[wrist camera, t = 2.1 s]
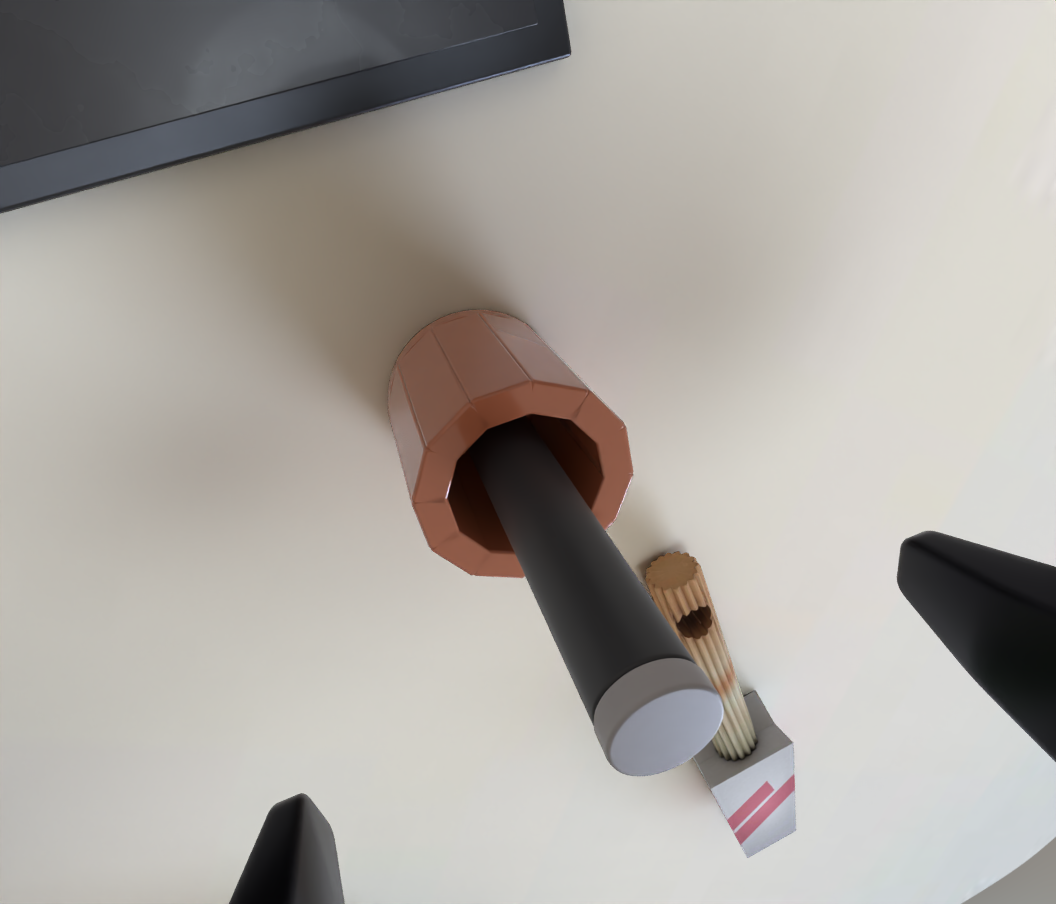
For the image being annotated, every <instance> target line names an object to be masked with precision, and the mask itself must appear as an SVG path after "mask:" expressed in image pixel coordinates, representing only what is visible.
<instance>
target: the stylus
mask: <svg viewBox="0 0 1056 904" xmlns="http://www.w3.org/2000/svg"><path fill="white" fill-rule="evenodd" d="M468 451H469V454H470V456H471V458H472V460H473V462H474V465H475V467H476V469H477V471H478V473H479V476H480V478H481V480H482V482H483V484H484V487H485V489H486V491H487V493H488V495H489V498H490V500H491V502H492V504H493V506H494V508H495V511H496V513H497V515H498V517H499V519H500V522H501V524H502V526H503V528H504V530H505V533H506V535H507V537H508V539H509V541H510V544H511V546H512V548H513V550H514V552H515V555H516V557H517V559H518V561H519V563H520V565H521V568H522V570H523V572H524V574H525V576H526V579H527V581H528V583H529V585H530V587H531V590H532V592H533V594H534V596H535V598H536V601H537V603H538V605H539V607H540V609H541V612H542V614H543V616H544V618H545V620H546V622H547V625H548V627H549V629H550V631H551V633H552V636H553V638H554V640H555V642H556V644H557V647H558V649H559V651H560V653H561V655H562V658H563V660H564V662H565V664H566V666H567V669H568V671H569V673H570V675H571V677H572V679H573V682H574V684H575V686H576V688H577V690H578V693H579V695H580V697H581V699H582V701H583V704H584V706H585V708H586V710H587V712H588V715H589V717H590V719H591V721H592V723H593V726H594V731H595V733H596V736H597V738H598V740H599V742H600V745H601V747H602V749H603V751H604V753H605V756H606V758H607V760H608V762H609V763H610V765H612V766H613V767H614V768H615V769H616V770H617V771H619V772H621V773H623V774H626V775H630V776H648V775H654V774H658V773H661V772H664V771H667V770H670V769H672V768H674V767H676V766H678V765H680V764H682V763H684V762H686V761H687V760H689V759H690V758H692V757H693V756H694V755H696V754H697V753H698V752H699V751H701V750H702V749H703V748H704V747H705V746H706V745H707V744H708V743H709V742H710V740H711V739H712V738H713V736H714V735H715V734H716V732H717V730H718V729H719V726H720V724H721V722H722V719H723V713H724V708H723V702H722V699H721V696H720V695H719V693H718V692H717V690H716V689H715V687H714V686H713V684H712V683H711V681H710V680H709V679H708V677H707V676H706V674H705V673H704V671H703V670H702V669H701V668H700V667H699V666H698V665H697V664H696V662H695V661H694V659H693V658H692V657H691V655H690V654H689V652H688V651H687V649H686V648H685V646H684V645H683V643H682V642H681V641H680V639H679V638H678V636H677V635H676V633H675V632H674V630H673V629H672V627H671V626H670V624H669V623H668V622H667V620H666V619H665V617H664V616H663V614H662V613H661V611H660V610H659V608H658V607H657V606H656V604H655V603H654V601H653V600H652V598H651V597H650V595H649V594H648V592H647V591H646V590H645V588H644V587H643V585H642V584H641V582H640V581H639V579H638V578H637V576H636V575H635V574H634V572H633V571H632V569H631V568H630V566H629V565H628V563H627V562H626V560H625V559H624V558H623V556H622V555H621V553H620V552H619V550H618V549H617V547H616V546H615V544H614V543H613V541H612V540H611V539H610V537H609V536H608V534H607V533H606V531H605V530H604V528H603V527H602V525H601V524H600V523H599V521H598V520H597V518H596V517H595V515H594V514H593V512H592V511H591V509H590V508H589V507H588V505H587V504H586V502H585V501H584V499H583V498H582V496H581V495H580V493H579V492H578V491H577V489H576V488H575V486H574V485H573V483H572V482H571V480H570V479H569V477H568V476H567V475H566V473H565V472H564V470H563V469H562V467H561V466H560V464H559V463H558V461H557V460H556V459H555V457H554V456H553V454H552V453H551V451H550V450H549V448H548V447H547V445H546V444H545V442H544V441H543V440H542V438H541V437H540V435H539V434H538V432H537V431H536V429H535V428H534V426H533V425H532V424H531V422H530V421H529V419H528V418H527V416H526V415H525V416H523V417H520V418H517V419H514V420H511V421H508V422H506V423H503V424H500V425H497V426H494V427H492V428H489V429H487V430H486V431H485V432H484V433H483V434H482V435H481V436H480V437H479V438H478V439H477V440H476V441H475V442H474V443H473V444H472V445H471V446H470V448H469V449H468Z"/></svg>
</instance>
